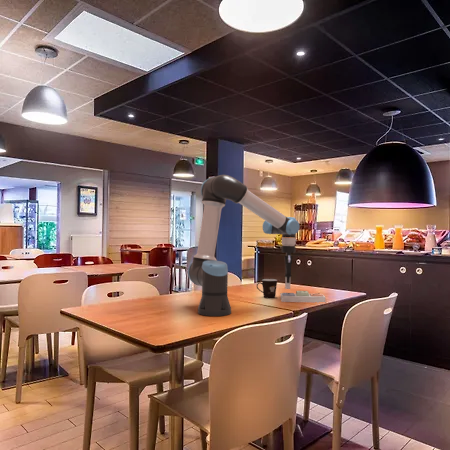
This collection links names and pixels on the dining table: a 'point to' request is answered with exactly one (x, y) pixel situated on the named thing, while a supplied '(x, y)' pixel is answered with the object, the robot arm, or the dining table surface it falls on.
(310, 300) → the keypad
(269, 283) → the coffee mug
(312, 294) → the tile three
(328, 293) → the dining table surface
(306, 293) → the tile two
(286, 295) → the tile one
